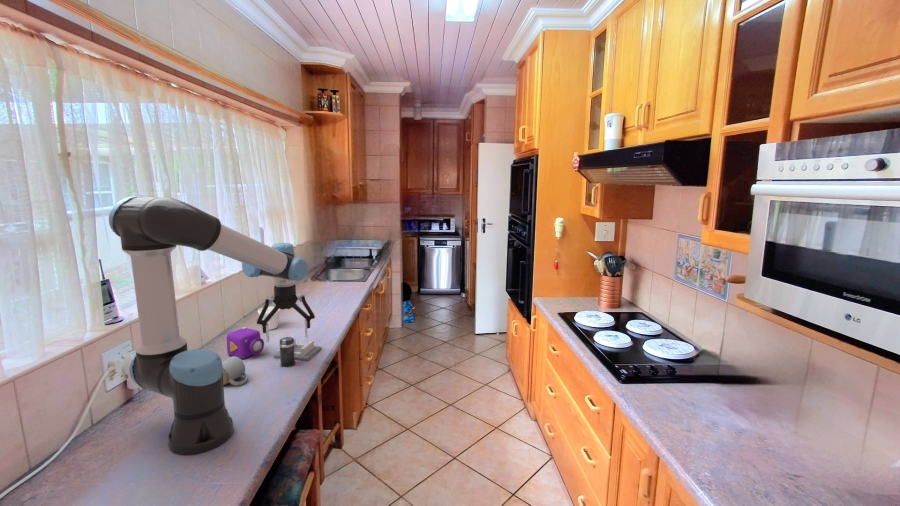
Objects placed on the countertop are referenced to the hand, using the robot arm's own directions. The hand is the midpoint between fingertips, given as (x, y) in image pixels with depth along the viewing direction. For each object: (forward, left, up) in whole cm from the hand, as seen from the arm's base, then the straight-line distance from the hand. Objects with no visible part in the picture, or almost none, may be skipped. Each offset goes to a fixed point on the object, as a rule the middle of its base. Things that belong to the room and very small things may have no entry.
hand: (287, 338), depth 155 cm
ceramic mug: (-16, +12, -11) cm, 23 cm away
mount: (+10, +1, -10) cm, 14 cm away
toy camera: (+5, +20, -11) cm, 23 cm away
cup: (+34, +28, -11) cm, 45 cm away
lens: (0, 0, -10) cm, 10 cm away
